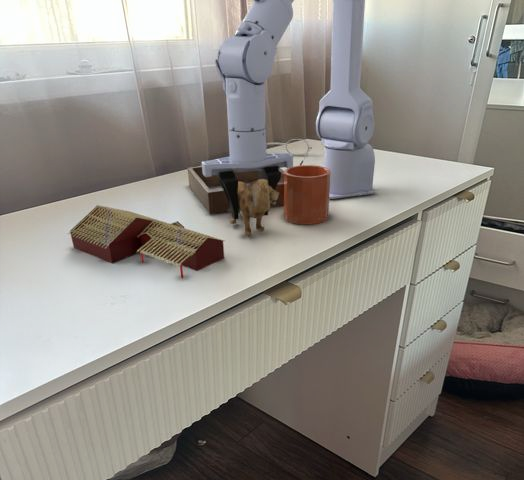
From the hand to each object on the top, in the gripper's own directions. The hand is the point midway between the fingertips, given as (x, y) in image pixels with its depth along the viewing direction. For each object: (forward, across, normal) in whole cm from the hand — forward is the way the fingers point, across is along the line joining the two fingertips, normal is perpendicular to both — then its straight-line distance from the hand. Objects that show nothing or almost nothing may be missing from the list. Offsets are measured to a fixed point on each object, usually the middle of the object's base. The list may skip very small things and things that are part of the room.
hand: (249, 215), depth 85 cm
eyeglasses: (+2, -17, -40) cm, 44 cm away
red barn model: (+2, +18, +4) cm, 19 cm away
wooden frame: (+2, -4, -19) cm, 20 cm away
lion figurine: (+2, 0, 0) cm, 2 cm away
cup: (+2, -11, -2) cm, 11 cm away
